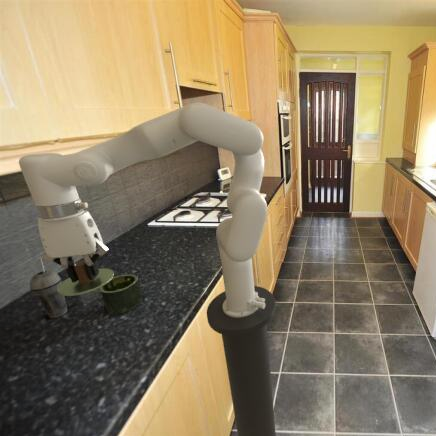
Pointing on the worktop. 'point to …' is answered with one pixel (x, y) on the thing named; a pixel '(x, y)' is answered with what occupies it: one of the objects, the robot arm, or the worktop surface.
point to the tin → (122, 294)
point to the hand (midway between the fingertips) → (85, 277)
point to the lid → (84, 281)
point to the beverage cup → (48, 292)
